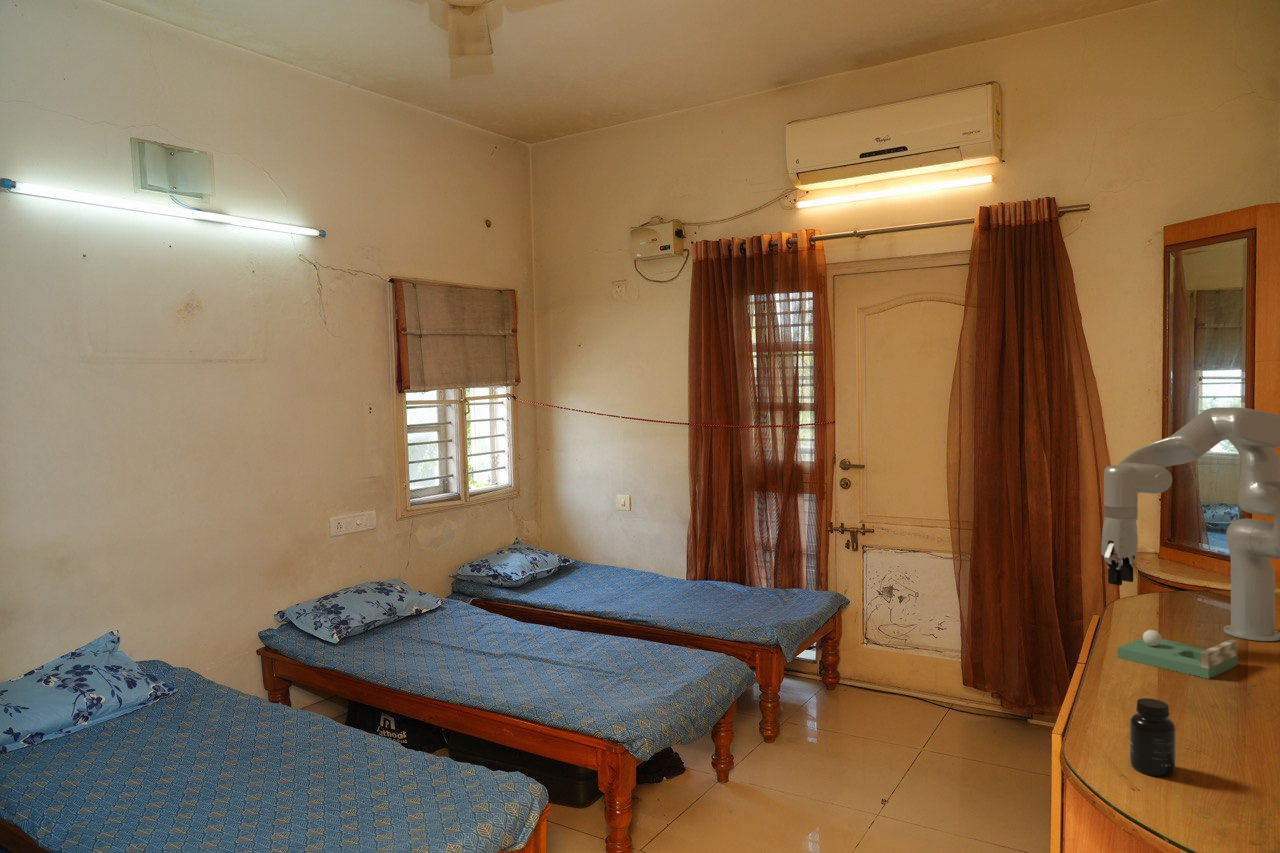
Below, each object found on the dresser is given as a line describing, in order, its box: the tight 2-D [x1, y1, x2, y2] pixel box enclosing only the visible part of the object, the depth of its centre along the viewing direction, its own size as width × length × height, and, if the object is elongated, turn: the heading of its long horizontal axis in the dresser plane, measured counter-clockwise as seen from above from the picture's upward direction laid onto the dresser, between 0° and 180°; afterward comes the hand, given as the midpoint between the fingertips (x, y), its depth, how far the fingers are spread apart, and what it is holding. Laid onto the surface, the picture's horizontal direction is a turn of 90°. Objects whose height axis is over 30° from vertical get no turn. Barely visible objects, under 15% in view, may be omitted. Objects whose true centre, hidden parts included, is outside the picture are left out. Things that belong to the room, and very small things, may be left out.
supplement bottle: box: [1129, 697, 1177, 778], centre depth 142 cm, size 7×7×12 cm
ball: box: [1142, 629, 1163, 646], centre depth 203 cm, size 4×4×4 cm
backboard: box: [1201, 639, 1238, 669], centre depth 191 cm, size 16×2×4 cm, turn 124°
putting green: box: [1117, 637, 1238, 680], centre depth 199 cm, size 16×20×2 cm
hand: (1120, 582), depth 209 cm, fingers open, 5 cm apart
